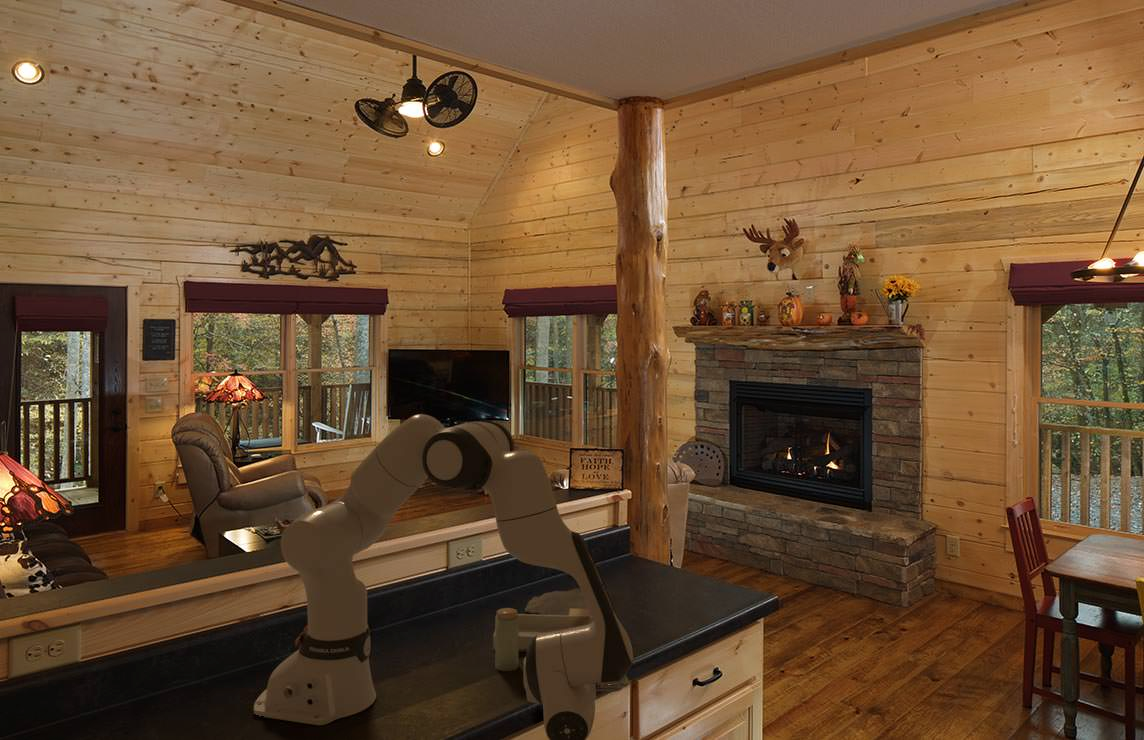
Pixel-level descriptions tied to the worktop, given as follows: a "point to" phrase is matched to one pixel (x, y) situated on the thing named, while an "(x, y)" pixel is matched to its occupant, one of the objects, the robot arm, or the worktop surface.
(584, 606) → the stone tool
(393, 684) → the worktop surface
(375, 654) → the worktop surface
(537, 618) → the beige tray
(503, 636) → the sage jar
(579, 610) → the birch block
